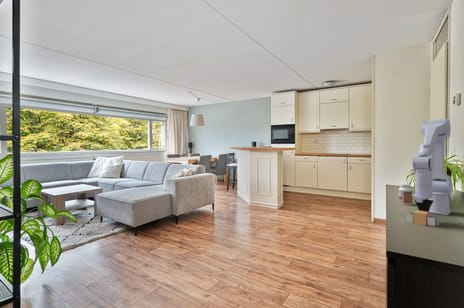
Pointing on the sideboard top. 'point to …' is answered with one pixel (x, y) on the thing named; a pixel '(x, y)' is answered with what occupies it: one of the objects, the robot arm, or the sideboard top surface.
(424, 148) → the robot arm
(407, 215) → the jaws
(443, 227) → the sideboard top surface
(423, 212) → the orange block
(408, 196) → the pill bottle
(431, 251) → the sideboard top surface
